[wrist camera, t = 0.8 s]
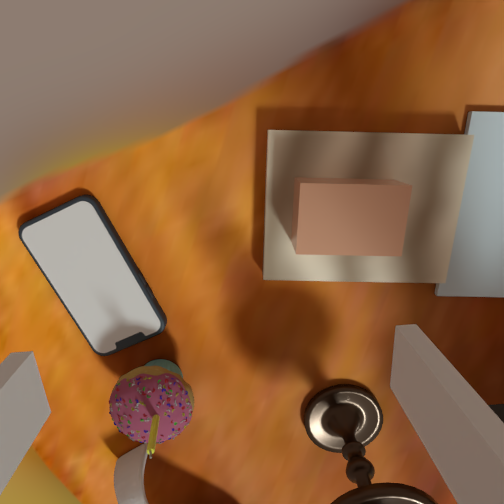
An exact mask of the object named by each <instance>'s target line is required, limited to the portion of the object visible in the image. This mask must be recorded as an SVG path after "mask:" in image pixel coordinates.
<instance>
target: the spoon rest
mask: <svg viewBox="0 0 504 504" xmlns="http://www.w3.org/2000/svg"><path fill="white" fill-rule="evenodd" d="M147 446H148V444H147V443H144V444H142V445H140V446H138V447H137V448H135V449H133V450H131V451H129V452H127V453H126V454H124V455H123V456H121V457H120V458H119V459H118V460H117V462H116V466H115V471H114V487H115V493H116V497H117V501H118V504H149V503H148V501H147V498H146V494H145V489H144V469H145V464H146V459H147V455H148V454H147Z"/></svg>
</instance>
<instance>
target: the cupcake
mask: <svg viewBox="0 0 504 504" xmlns="http://www.w3.org/2000/svg"><path fill="white" fill-rule="evenodd" d="M109 404H110V412H109V413H110V414H111V417H112V420H113V421H114V424H115V425H117V428H118V429H119V430H120V431H119V432H121V431H122V432H121V433H122V434H123V433H124V434H125V435H126V436H128V437H129V438H130V439H132V440H133V441H135V440H136V441H137V442H138V441H139V442H140V443H142V442H144V443H147V444H148V446H147V454H149V458H150V459H151V458H152V454H153V453H154V451H155V445H156V443H159V442H160V443H159V444H161V442H164V441H166V440H169V439H171V438H173V439H174V437H175V436H177V435H179V434H180V433H181V432H182V431H183V430H184V429H185V428H186V426H187V425H188V424H189V422H190V420H191V417H192V412H193V408H194V397H193V393H192V389H191V386H190V385H189V384H188V383H186V382H185V381H184V380H183V375H182V372H181V370H180V369H179V367H178V366H177V365H176V364H174V363H173V362H171V361H168V360H165V359H156V360H152V361H150V362H148V363H147V364H146V365H144V366H141V367H138V368H135V369H133V370H131V371H130V372H128V373H127V374H125V375H123V376H121V377H120V378H119V380H118V381H117V383H116V385H115V386H114V388H113V390H112V393H111V396H110V401H109Z"/></svg>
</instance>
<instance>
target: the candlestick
mask: <svg viewBox="0 0 504 504" xmlns="http://www.w3.org/2000/svg"><path fill="white" fill-rule="evenodd" d="M304 423H305V428H306V431H307V434H308V436H309V438H310V439H311V440H312V441H313V443H314V444H316V445H317V446H319V447H320V448H322V449H324V450H327V451H331V452H337V453H342V454H343V457H344V458H345V459H346V460H348V463H347V467H346V475H347V477H348V479H349V480H350V481H351V482H353V483H356V484H357V486H358V488H356V489H353V490H351V491H348V492H347V493H345V494H343V495H341V496H340V497H338V498H337V499H336V500H334V501H333V502H332V503H331V504H438V503H437V502H436V501H435V500H434V499H433V498H432V497H431V496H430V495H428V494H427V493H425V492H424V491H422V490H420V489H417V488H415V487H413V486H409V485H405V484H400V483H375V484H371V481H370V480H371V479H372V478H373V476H374V472H375V470H374V467H373V465H372V463H371V462H370V461H369V460H367V459H366V458H365V457H364V455H365V446H366V445H368V444H369V443H370V442H372V441H373V440H374V439H375V438H376V436H377V435H378V434H379V432H380V430H381V427H382V424H383V414H382V410H381V408H380V406H379V403H378V401H377V399H376V398H375V397H374V396H373V394H371V393H370V392H369V391H367V390H366V389H364V388H362V387H359V386H355V385H349V384H342V385H335V386H331V387H328V388H326V389H324V390H322V391H320V392H319V393H317V394H316V395H315V396H314V397H313V398H312V399H311V400H310V402H309V403H308V405H307V407H306V409H305V414H304Z"/></svg>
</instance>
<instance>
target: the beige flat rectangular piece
mask: <svg viewBox="0 0 504 504" xmlns="http://www.w3.org/2000/svg"><path fill="white" fill-rule="evenodd" d="M473 140H474V135H460V134H419V133H378V132H337V131H296V130H267V158H266V187H265V216H264V246H263V280H293V281H346V282H399V283H446V278H447V273H448V268H449V262H450V257H451V252H452V247H453V242H454V237H455V232H456V227H457V222H458V216H459V211H460V206H461V201H462V196H463V191H464V186H465V181H466V175H467V170H468V165H469V160H470V155H471V150H472V145H473ZM295 177H306V178H350V179H394V180H397V181H400V182H403V183H406V184H409V185H412V192H411V198H410V205H409V211H408V218H407V224H406V231H405V237H404V244H403V250H402V256H352V255H301V254H296V253H295V251H294V248H293V245H292V243H291V232H292V214H293V197H294V179H295Z"/></svg>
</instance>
